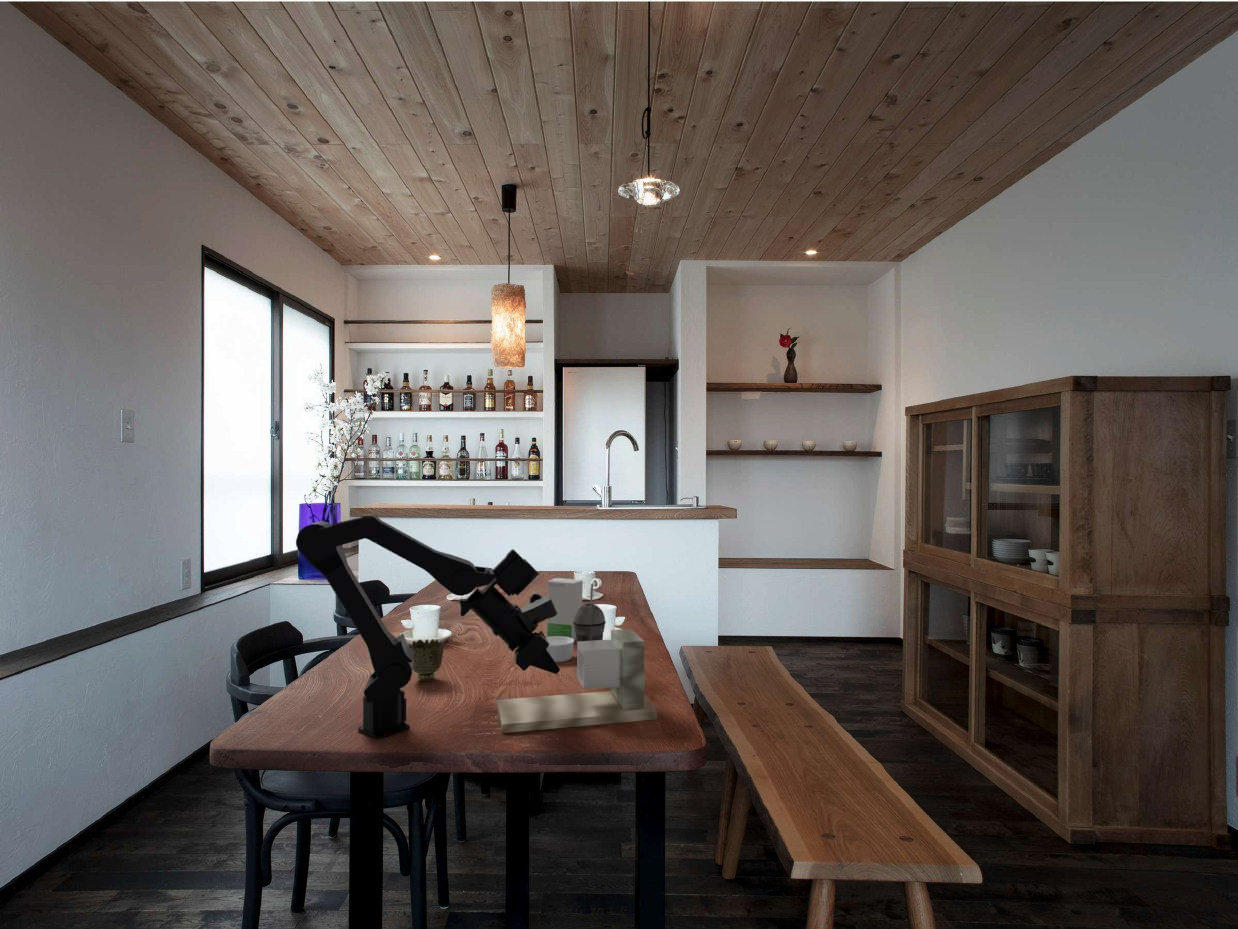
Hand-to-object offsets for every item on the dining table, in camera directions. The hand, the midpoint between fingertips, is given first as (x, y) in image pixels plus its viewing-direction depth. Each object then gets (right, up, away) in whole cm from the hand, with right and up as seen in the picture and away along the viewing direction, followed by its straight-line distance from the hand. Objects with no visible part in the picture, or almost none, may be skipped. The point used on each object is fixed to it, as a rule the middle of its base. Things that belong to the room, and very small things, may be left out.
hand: (558, 671), depth 128 cm
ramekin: (-4, -9, +38) cm, 40 cm away
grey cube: (+8, -2, +2) cm, 8 cm away
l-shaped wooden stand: (+3, -8, +1) cm, 9 cm away
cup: (-30, -8, +21) cm, 38 cm away
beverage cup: (+5, -8, +25) cm, 27 cm away
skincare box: (-3, -8, +58) cm, 59 cm away
